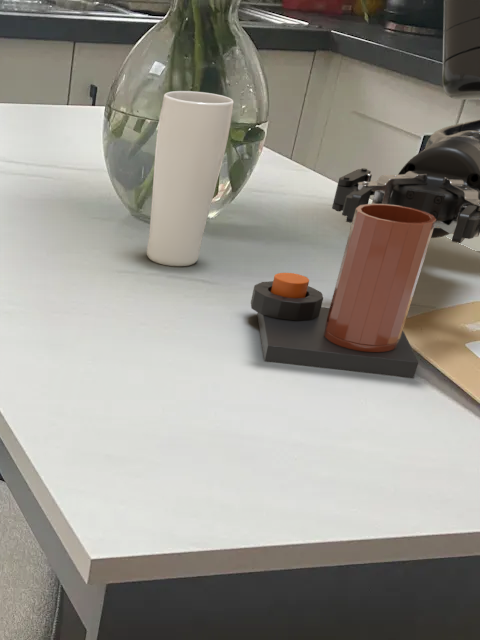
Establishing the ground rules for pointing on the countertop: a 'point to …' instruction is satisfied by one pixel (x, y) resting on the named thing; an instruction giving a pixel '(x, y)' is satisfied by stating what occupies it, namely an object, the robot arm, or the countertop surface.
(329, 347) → the scale
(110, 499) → the countertop surface
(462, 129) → the robot arm
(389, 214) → the cup
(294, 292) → the button
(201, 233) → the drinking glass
